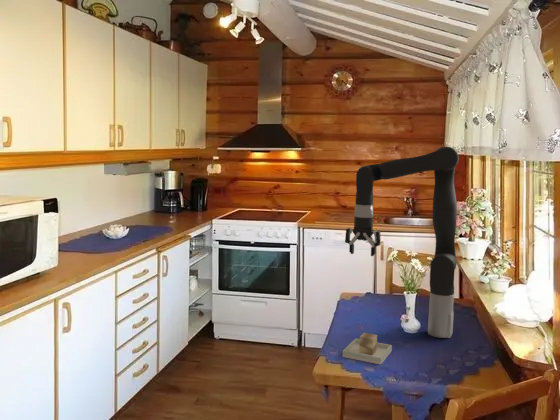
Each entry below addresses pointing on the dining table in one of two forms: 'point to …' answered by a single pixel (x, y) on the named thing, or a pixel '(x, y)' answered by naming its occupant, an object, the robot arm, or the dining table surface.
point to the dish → (376, 358)
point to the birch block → (368, 344)
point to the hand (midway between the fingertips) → (362, 254)
